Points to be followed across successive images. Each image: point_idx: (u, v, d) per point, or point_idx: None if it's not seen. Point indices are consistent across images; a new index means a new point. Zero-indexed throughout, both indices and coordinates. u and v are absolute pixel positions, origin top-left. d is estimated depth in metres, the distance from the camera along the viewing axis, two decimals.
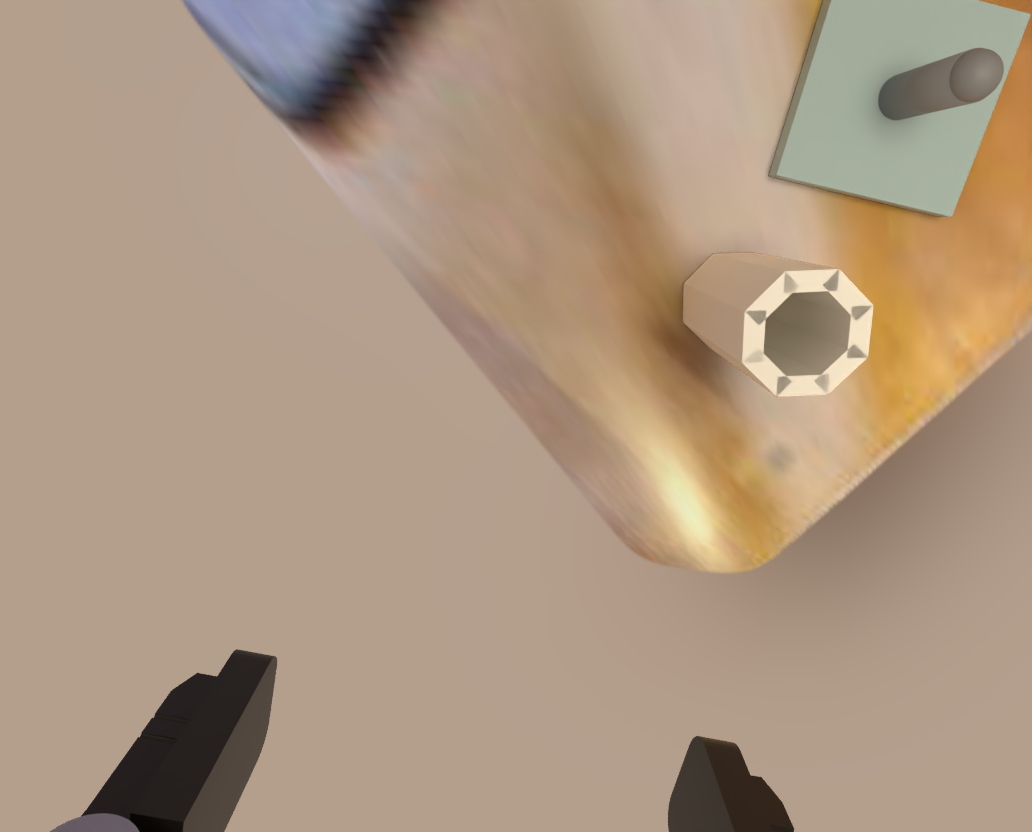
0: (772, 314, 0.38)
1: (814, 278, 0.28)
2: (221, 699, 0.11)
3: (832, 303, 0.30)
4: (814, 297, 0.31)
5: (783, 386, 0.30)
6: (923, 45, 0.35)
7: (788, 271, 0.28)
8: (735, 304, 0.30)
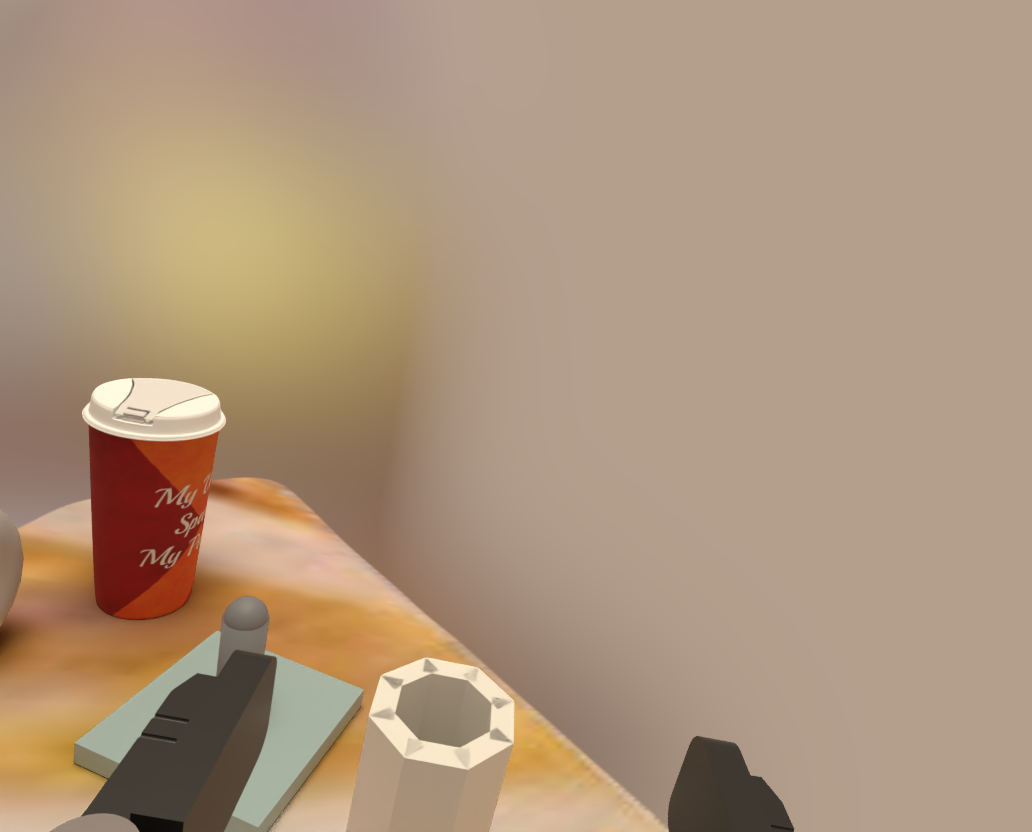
0: None
1: (384, 694, 0.26)
2: (221, 699, 0.11)
3: (416, 697, 0.28)
4: None
5: (501, 735, 0.25)
6: None
7: (370, 714, 0.25)
8: (395, 789, 0.24)
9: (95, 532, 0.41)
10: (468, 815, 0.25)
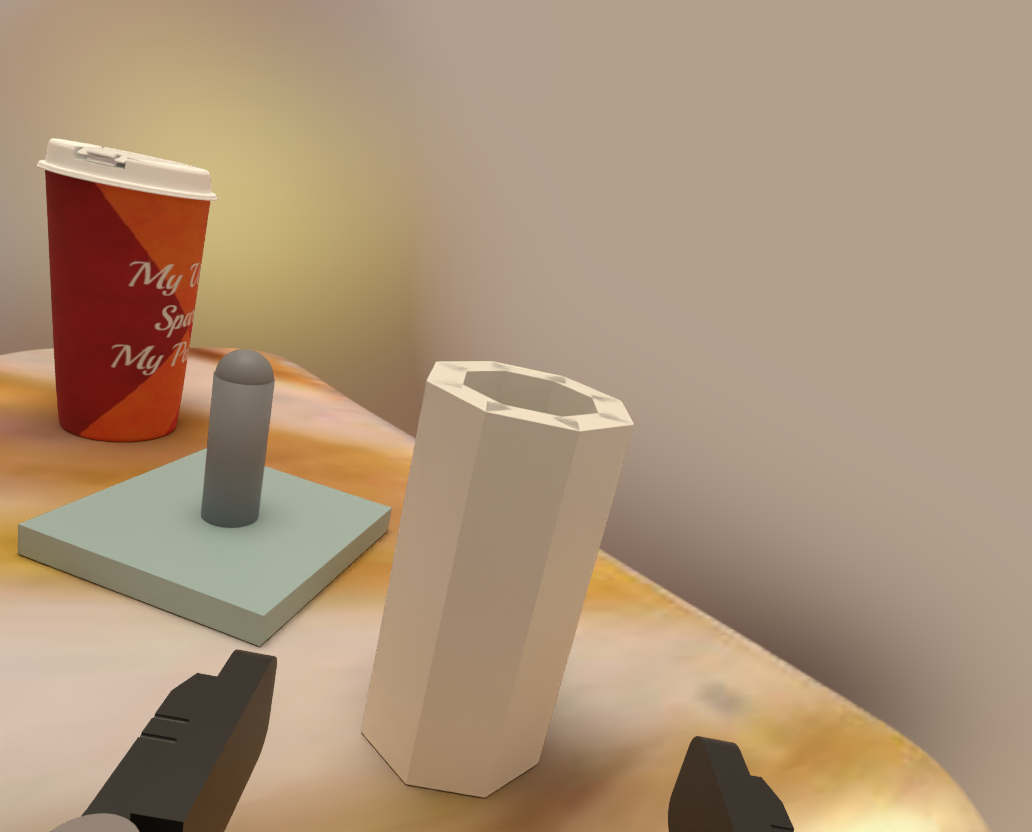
0: None
1: (445, 372, 0.18)
2: (221, 699, 0.11)
3: None
4: None
5: (615, 418, 0.18)
6: (182, 494, 0.29)
7: None
8: (470, 470, 0.16)
9: (56, 325, 0.33)
10: (572, 523, 0.17)
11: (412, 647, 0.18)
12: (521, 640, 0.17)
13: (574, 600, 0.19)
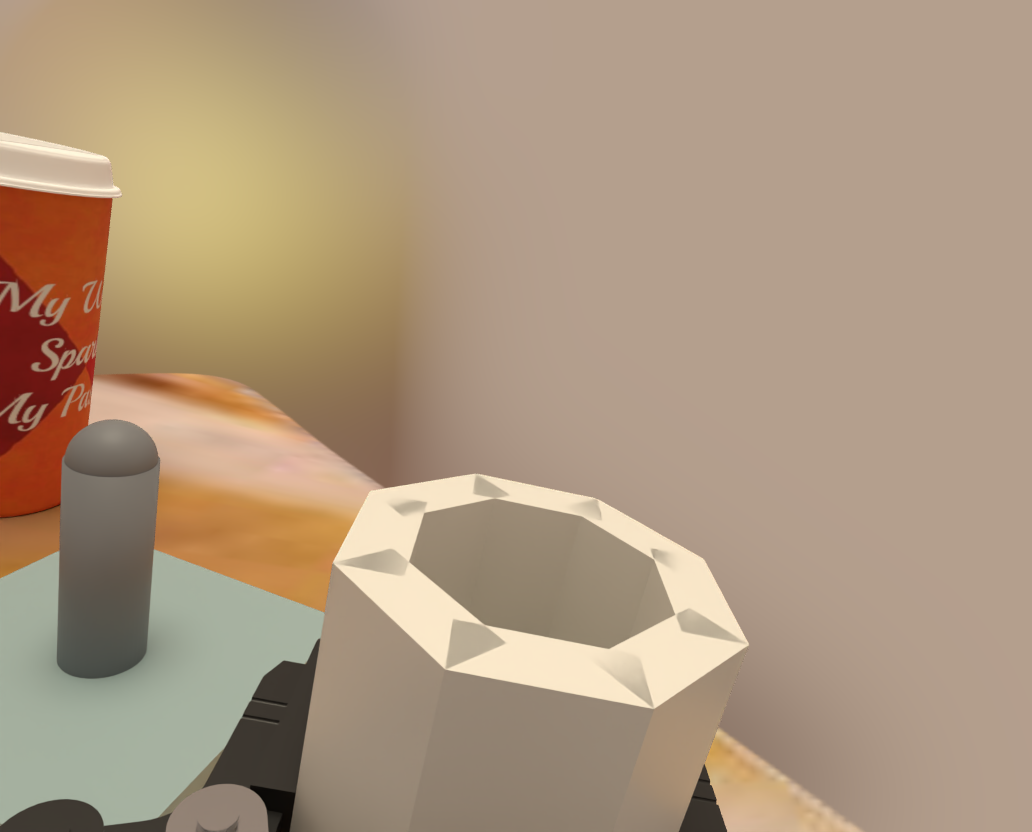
0: None
1: (380, 523, 0.10)
2: None
3: (459, 555, 0.11)
4: None
5: (709, 626, 0.09)
6: (39, 618, 0.20)
7: None
8: (413, 779, 0.08)
9: None
10: None
11: None
12: None
13: None
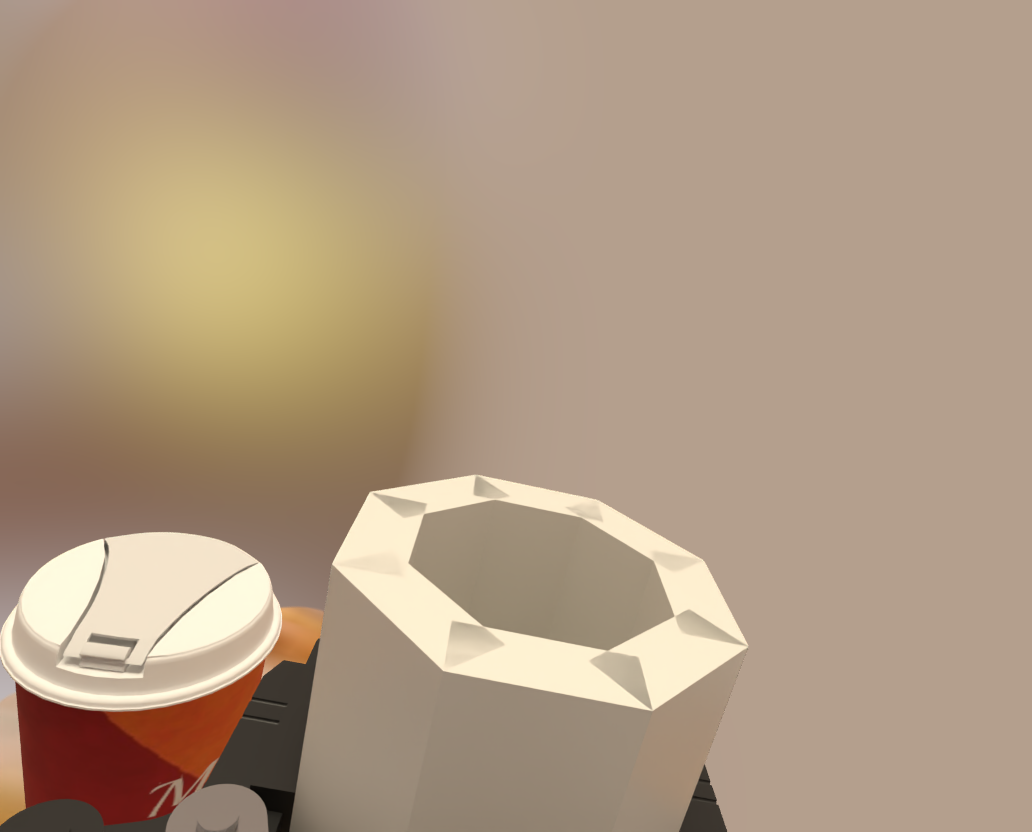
0: None
1: (379, 525, 0.10)
2: None
3: (459, 556, 0.11)
4: None
5: (709, 627, 0.09)
6: None
7: (336, 564, 0.09)
8: (412, 780, 0.08)
9: None
10: None
11: None
12: None
13: None
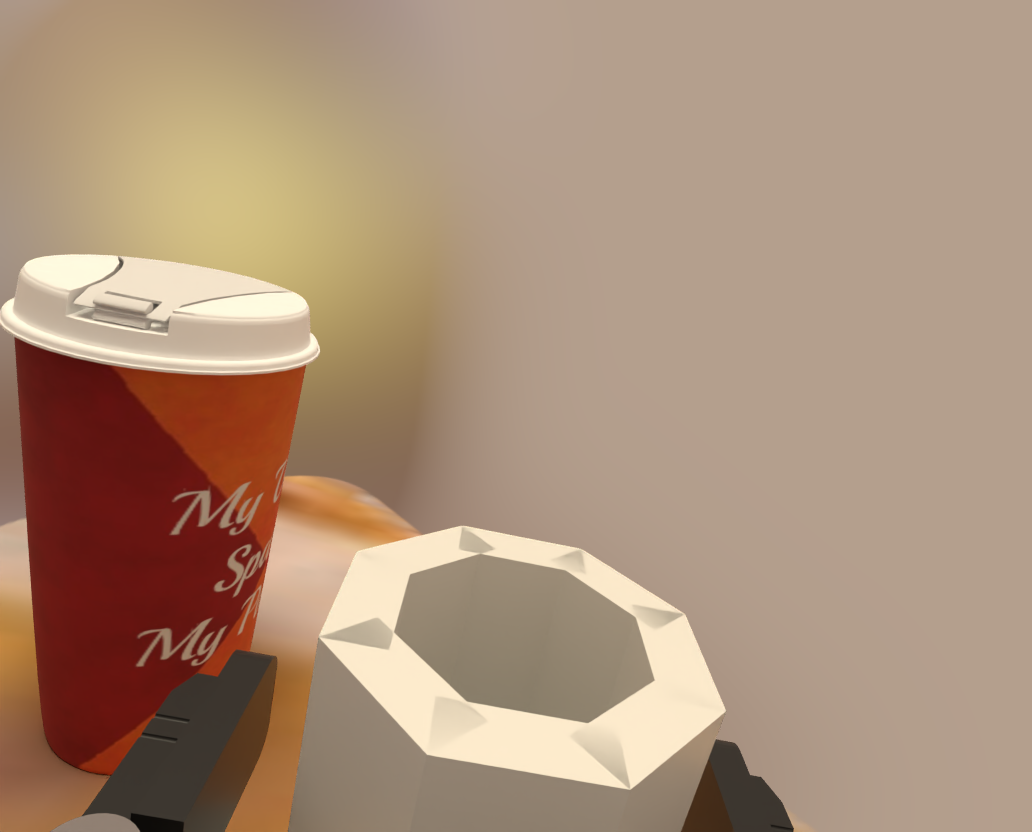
0: None
1: (365, 589, 0.10)
2: (221, 699, 0.11)
3: (445, 610, 0.11)
4: None
5: (688, 691, 0.09)
6: None
7: (323, 635, 0.09)
8: None
9: (36, 591, 0.18)
10: None
11: None
12: None
13: None
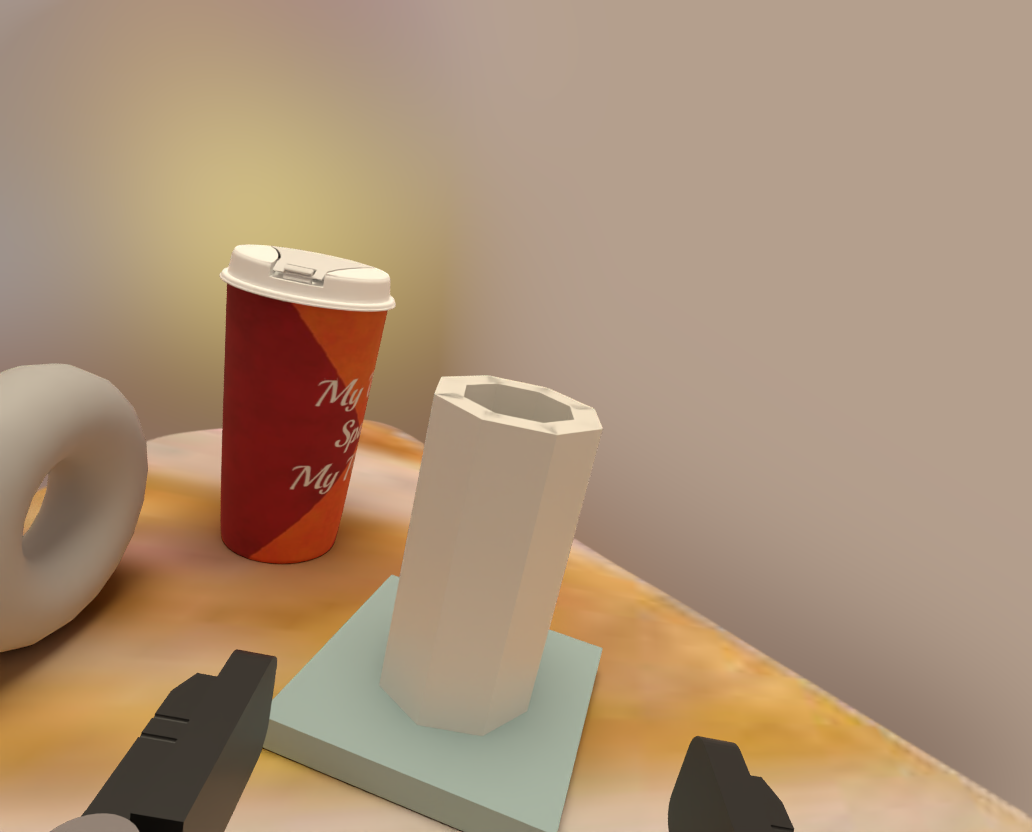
0: None
1: (448, 386, 0.22)
2: (221, 699, 0.11)
3: None
4: None
5: (588, 423, 0.22)
6: None
7: None
8: (469, 466, 0.20)
9: (231, 444, 0.31)
10: (552, 508, 0.21)
11: (422, 611, 0.22)
12: (511, 604, 0.22)
13: (555, 573, 0.23)
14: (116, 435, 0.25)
